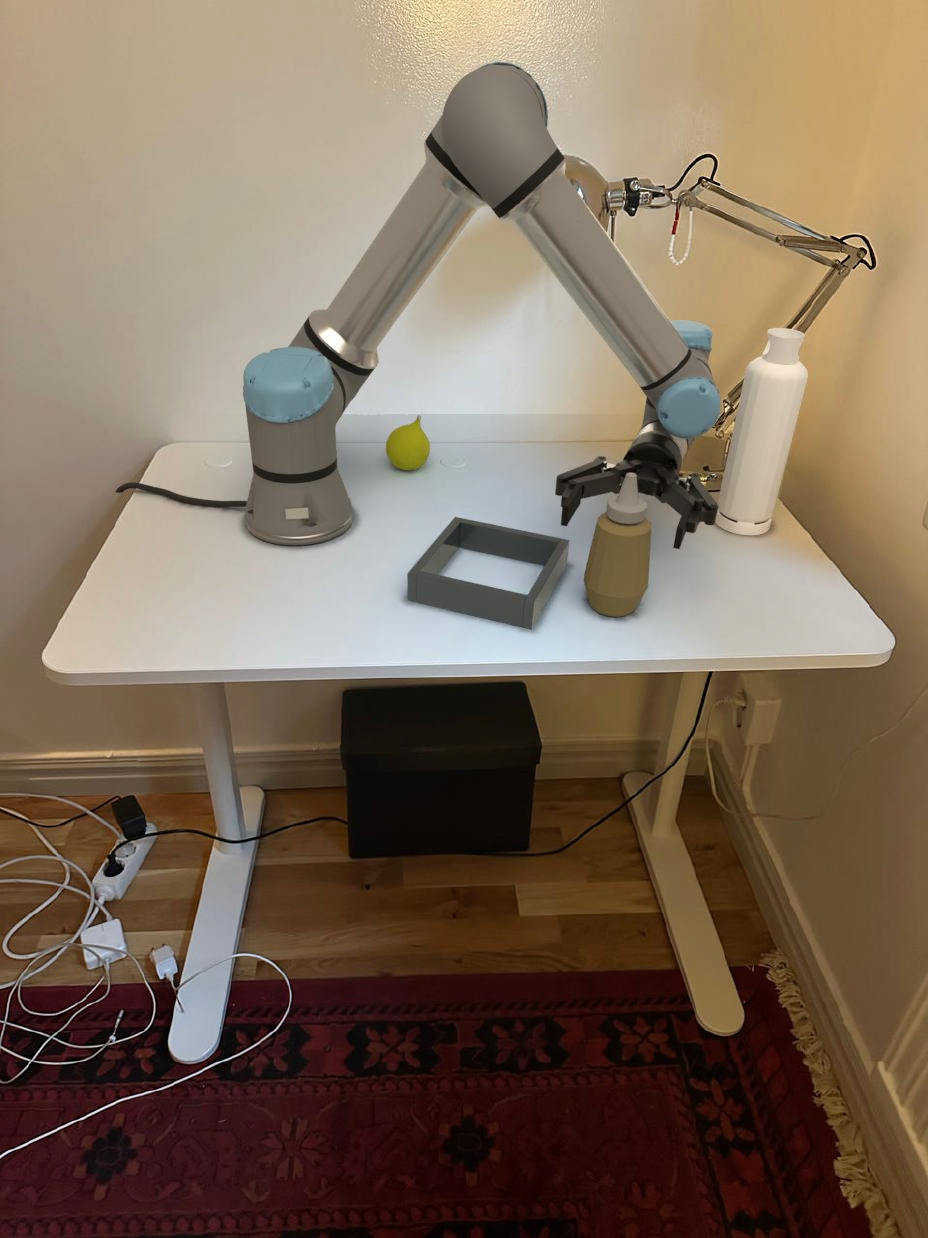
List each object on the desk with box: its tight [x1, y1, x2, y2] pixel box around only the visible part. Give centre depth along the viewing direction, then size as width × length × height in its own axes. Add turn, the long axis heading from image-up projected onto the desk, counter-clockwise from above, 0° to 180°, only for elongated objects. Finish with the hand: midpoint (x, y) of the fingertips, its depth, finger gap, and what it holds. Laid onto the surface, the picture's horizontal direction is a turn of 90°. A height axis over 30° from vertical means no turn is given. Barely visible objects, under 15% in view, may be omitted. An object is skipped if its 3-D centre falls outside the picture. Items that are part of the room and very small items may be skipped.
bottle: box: [715, 327, 809, 536], centre depth 124 cm, size 8×8×28 cm
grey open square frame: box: [406, 516, 571, 630], centre depth 114 cm, size 16×16×4 cm
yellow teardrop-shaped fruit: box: [385, 410, 431, 471], centre depth 141 cm, size 7×7×10 cm
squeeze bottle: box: [583, 473, 652, 618], centre depth 107 cm, size 8×8×18 cm
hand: (620, 527), depth 104 cm, fingers open, 13 cm apart
